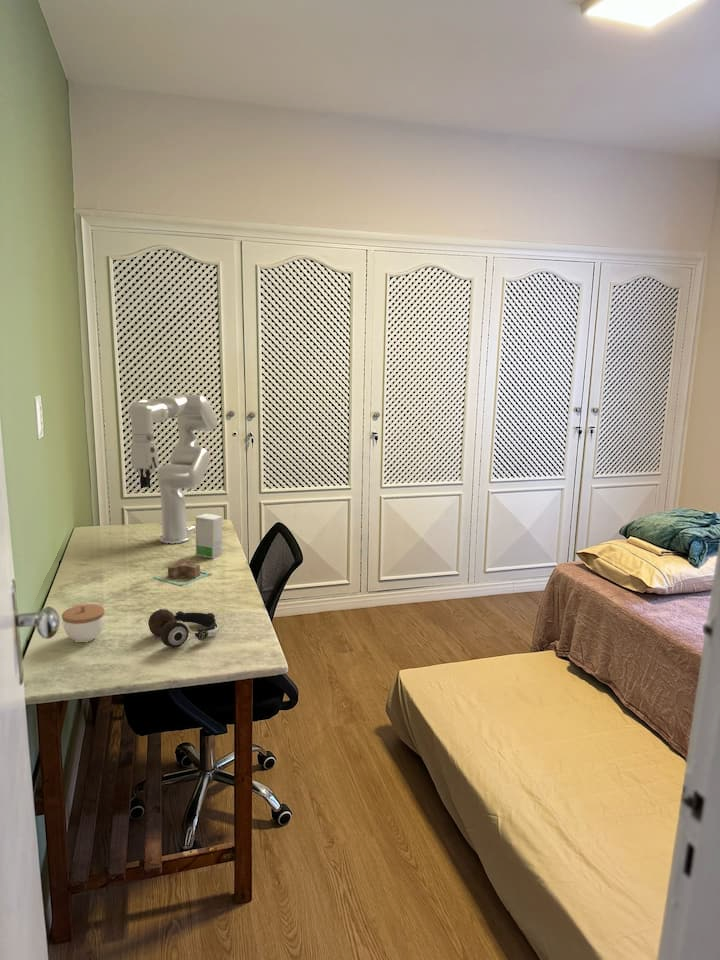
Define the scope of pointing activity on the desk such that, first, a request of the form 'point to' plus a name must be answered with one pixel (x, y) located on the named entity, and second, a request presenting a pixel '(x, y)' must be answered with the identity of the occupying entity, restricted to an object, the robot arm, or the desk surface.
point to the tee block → (183, 569)
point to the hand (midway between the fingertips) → (145, 486)
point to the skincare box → (208, 535)
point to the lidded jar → (83, 622)
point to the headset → (180, 626)
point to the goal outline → (183, 583)
